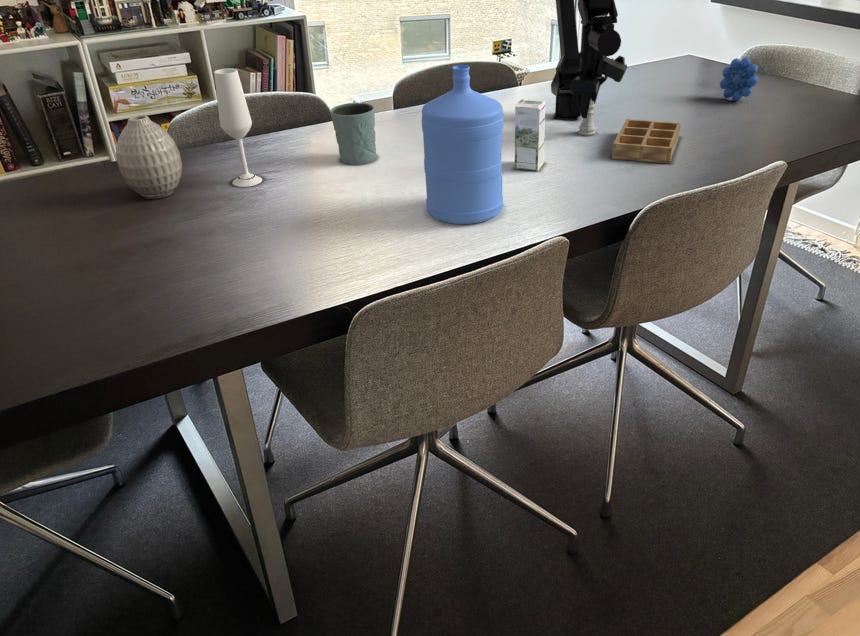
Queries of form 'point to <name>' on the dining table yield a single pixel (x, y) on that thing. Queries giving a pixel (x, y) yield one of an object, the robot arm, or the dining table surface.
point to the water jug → (463, 153)
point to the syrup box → (529, 134)
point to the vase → (148, 158)
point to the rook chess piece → (588, 123)
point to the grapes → (739, 79)
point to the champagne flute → (234, 116)
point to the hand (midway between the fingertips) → (588, 112)
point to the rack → (646, 141)
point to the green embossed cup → (355, 132)
